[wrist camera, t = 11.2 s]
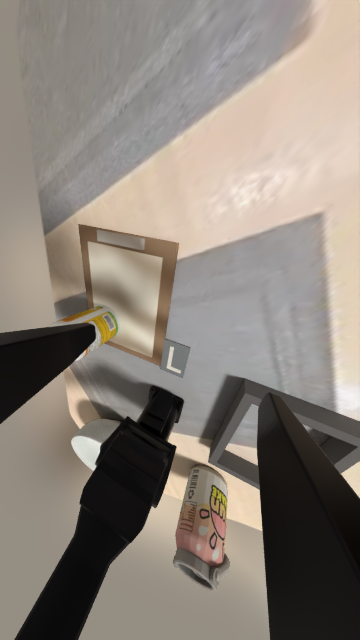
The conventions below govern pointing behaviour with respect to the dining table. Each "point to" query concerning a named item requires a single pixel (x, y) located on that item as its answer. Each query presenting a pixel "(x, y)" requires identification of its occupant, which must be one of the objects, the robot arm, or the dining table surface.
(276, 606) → the robot arm
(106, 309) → the supplement bottle
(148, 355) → the clipboard
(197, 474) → the beverage can
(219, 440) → the empty rectangular frame
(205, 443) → the dining table surface
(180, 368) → the letter card
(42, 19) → the dining table surface
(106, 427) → the cereal bowl
